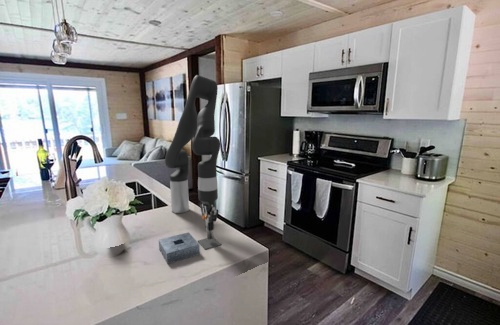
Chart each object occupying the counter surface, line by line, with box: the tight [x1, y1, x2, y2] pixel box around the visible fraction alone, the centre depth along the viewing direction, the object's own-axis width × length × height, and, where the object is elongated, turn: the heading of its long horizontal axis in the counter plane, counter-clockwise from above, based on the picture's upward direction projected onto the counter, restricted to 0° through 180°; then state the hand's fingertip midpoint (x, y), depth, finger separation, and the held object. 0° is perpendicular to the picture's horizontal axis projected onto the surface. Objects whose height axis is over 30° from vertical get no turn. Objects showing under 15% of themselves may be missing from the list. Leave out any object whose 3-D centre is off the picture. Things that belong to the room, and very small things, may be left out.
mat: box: [197, 236, 222, 250], centre depth 106 cm, size 8×7×1 cm
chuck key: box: [201, 212, 214, 239], centre depth 105 cm, size 5×2×11 cm, turn 136°
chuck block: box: [158, 232, 201, 265], centre depth 99 cm, size 12×12×4 cm
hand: (209, 228), depth 105 cm, fingers closed on chuck key, 2 cm apart
